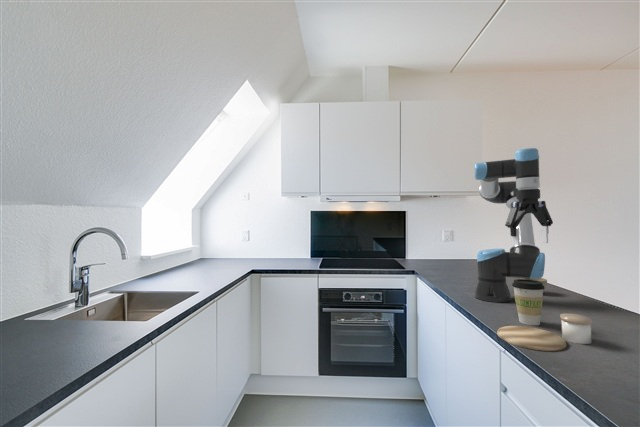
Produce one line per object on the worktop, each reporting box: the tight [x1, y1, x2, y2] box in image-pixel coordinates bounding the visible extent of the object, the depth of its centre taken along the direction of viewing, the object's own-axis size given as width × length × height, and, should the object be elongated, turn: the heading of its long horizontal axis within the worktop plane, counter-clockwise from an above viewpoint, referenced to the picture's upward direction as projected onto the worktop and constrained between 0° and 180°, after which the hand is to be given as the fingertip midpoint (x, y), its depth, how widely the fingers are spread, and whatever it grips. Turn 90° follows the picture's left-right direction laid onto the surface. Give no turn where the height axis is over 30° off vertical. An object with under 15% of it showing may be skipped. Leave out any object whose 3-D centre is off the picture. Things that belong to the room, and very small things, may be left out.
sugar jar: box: [559, 313, 593, 345], centre depth 93 cm, size 8×8×7 cm
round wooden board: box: [496, 325, 567, 352], centre depth 95 cm, size 18×18×1 cm
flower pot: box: [522, 277, 548, 292], centre depth 148 cm, size 10×10×7 cm
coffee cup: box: [511, 278, 546, 326], centre depth 109 cm, size 10×10×15 cm
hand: (530, 243), depth 114 cm, fingers open, 13 cm apart
